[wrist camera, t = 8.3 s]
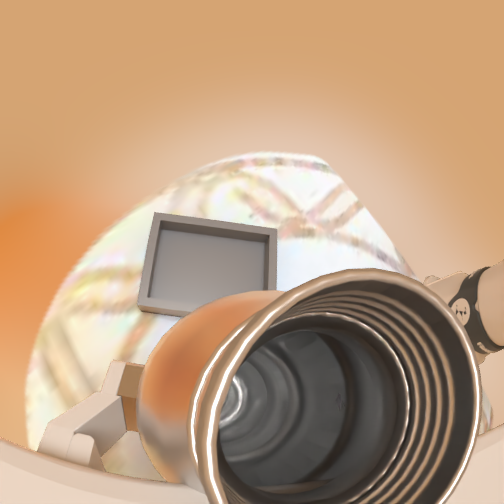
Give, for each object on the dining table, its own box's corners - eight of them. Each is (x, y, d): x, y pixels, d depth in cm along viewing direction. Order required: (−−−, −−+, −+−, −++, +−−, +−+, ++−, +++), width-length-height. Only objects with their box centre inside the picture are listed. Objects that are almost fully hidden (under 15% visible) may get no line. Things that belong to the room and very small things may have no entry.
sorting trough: (270, 240, 44) (277, 229, 41) (267, 325, 39) (275, 320, 36) (156, 225, 41) (154, 212, 38) (141, 311, 36) (137, 304, 33)
